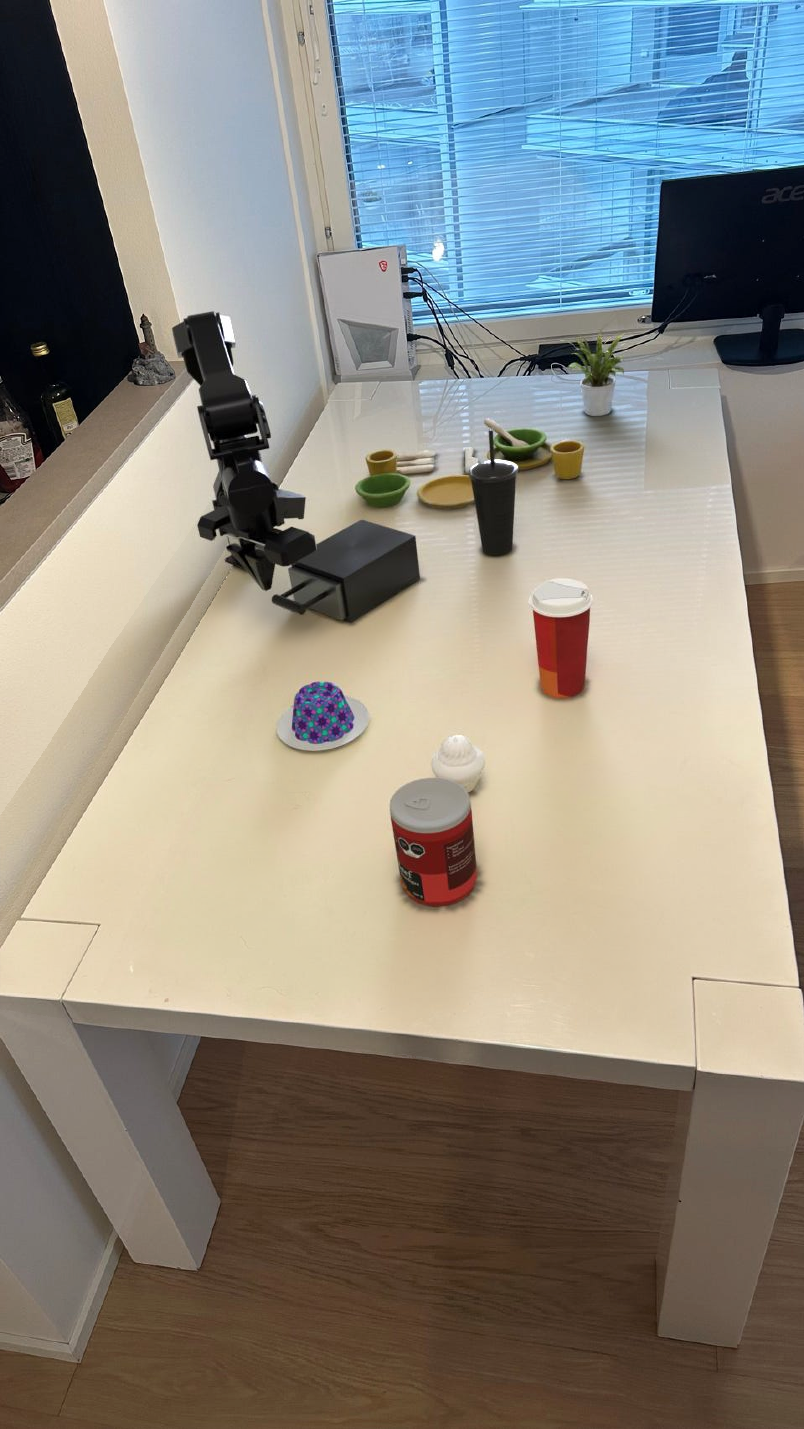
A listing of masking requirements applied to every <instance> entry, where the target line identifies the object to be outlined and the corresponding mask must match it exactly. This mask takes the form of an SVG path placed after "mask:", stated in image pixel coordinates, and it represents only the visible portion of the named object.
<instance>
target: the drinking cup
mask: <svg viewBox="0 0 804 1429" xmlns="http://www.w3.org/2000/svg"><path fill="white" fill-rule="evenodd" d="M488 445H489V450H490V460H488V459H486V460H483V461H481V462H478V464H476V465H474V466H472V467H471V468H470V469H469V471H468V474H467V475H469V477H470V478H471V483H472V489H473V495H474V501H475V503H474V507H475V513H476V519H477V524H478V531H479V537H480V541H481V549H482V552H483V554H484V555H487V556H490V557H502V556H505V555H508V554H510V553H511V552H512V551H513V544H514V525H515V524H514V523H515V506H516V488H517V475H518V474H519V470H518V467H517V465H516V464H514V463H512V462H509V461H504V460H499V459H495V457H494V446H495V445H494V431H493V429H490V428H489V429H488Z"/></svg>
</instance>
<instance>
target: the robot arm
mask: <svg viewBox="0 0 804 1429" xmlns="http://www.w3.org/2000/svg"><path fill="white" fill-rule="evenodd" d="M182 320H183V321H182V322H181V321H180V322H179V323H178V324H176V325H174V326H173V327H172V328H171V332H172V337H173V341H174V346H175V350H176V353H177V358H178V359H181V358H182V359H183V362H184V366H185V369H186V372H187V374H188V375H189V376H191V378H192V379H193V380H194V381H195V382H196V383H197V384H198V385H199V388H198V394H199V398H200V403H201V405H197V406H196V409H197V413H198V418H199V422H200V426H201V430H202V433H203V437H204V438H203V439H204V441H205V444H206V449H207V453H208V456H209V459H210V461H215V460H216V463H217V467H218V472H217V475H216V477H215V479H214V482H213V485H212V488H213V492H214V497H215V499H213V500H211V504H212V508H213V510H211V511H209V512H207V513H205V514H203V515H201V516H200V517H199V520H198V522H197V525H196V526H197V530H198V534H199V538H202V539H204V540H207V541H209V542H212V541H215V539H216V538H217V536H218V534H219V537H223V536H225V537H226V538H227V542H228V545H227V546H225V549H226V551H227V552H229V553H230V555H229V556H227V557H225V558H224V562H225V563H226V564H230V565H232V566H235V567H238V568H240V569H243V570H244V571H246V572H247V573H248V574H249V576H250V577H251V578H252V579H253V581H254V582H255V583H256V584H257V585H258V587H259V588H260V589H261V590H262V591H264V592H267V591H269V590H271V589H272V586H273V581H274V575H275V574H274V573H275V567H276V565H277V566H280V567H290V566H291V564H293V563H295V562H297V561H298V560H300V559H302V558H304V557H306V556H307V555H309V554H311V553H313V552H315V551H316V549H317V547H316V544H317V543H316V542H317V541H316V537H315V534H313V533H311V532H309V531H307V530H304V529H302V528H301V529H300V528H299V527H295V526H289V527H288V528H286V529H284V530H282V529H279V527H281V526H283V525H285V524H286V523H285V520H286V519H287V520H288V519H297V520H304V519H305V509H306V500H307V497H306V495H305V494H304V495H303V494H301V493H297V492H293V491H290V490H284V489H279V485H278V484H277V482H273V481H272V479H271V477H270V475H269V473H268V471H267V469H266V468H267V467H266V466H265V464H264V463H263V460H262V455H261V451H264V450H268V449H270V444H269V440H268V439H271V438H272V436H271V435H272V432H271V430H270V426H269V422H268V419H267V415H266V411H265V408H264V404H263V402H261V401H260V399H259V396H257V395H256V394H253V395H252V393H251V390H250V387H249V385H248V381H247V380H246V379H244V378H243V377H240V376H238V375H236V374H235V372H234V368H233V366H234V358H233V353H232V349H234V348H236V339H235V334H234V331H233V330H234V329H233V324H232V322H231V317H230V316H226V315H221V314H220V312H215V311H213V310H212V311H207V312H201V313H195V314H190V315H187V317H186V318H183V319H182ZM258 431H259V434H260V435H253V434H257V433H258ZM249 435H253V436H249ZM260 437H261V438H260ZM211 442H212V444H211ZM212 445H213V447H212ZM276 527H278V528H276ZM217 530H218V532H219V533H218V534H217Z"/></svg>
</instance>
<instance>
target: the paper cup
mask: <svg viewBox="0 0 804 1429" xmlns="http://www.w3.org/2000/svg"><path fill="white" fill-rule="evenodd" d="M527 601H528V603H527V604H528V605H529V606H530V608H531V609H532V615H533V626H534V635H535V645H536V655H537V665H538V674H539V682H540V688H541V690H542V692H543V693H544V694H545V695H547V696H549V697H551V698H553V699H554V698H555V699H569V698H570V699H571V698H573V697H576V696H578V695H579V694H581V693H582V692H583V691H584V689H585V682H586V672H587V659H588V646H589V645H588V644H589V633H590V622H591V607H592V606H593V604H594V598H593V595H592V593H591V592H590V589H589V587H588V586H587V584H585V583H584V582H583V581H580V580H577V579H573V578H565V577H563V578H562V577H561V578H560V577H559V578H553V579H548V580H546V581H543V582H541V583H539V584H538V585H537V586H536V587H535V589H533V591H532V592H531V594H530V596H529V598H528V600H527Z"/></svg>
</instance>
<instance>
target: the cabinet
mask: <svg viewBox="0 0 804 1429" xmlns="http://www.w3.org/2000/svg"><path fill="white" fill-rule="evenodd" d="M416 537H417V536H416V535H415V534H413V533H412V534H411V533H408V532H405V531H402V530H399V529H395V528H391V527H388V526H385V525H382V524H378V523H375V522H372V521H369V520H365V519H362V518H361V519H359V520H357V521H356V522H354V523H352V524H350V525H349V526H347V527H345V528H343V529H342V530H339V531H338V532H336V533H334V534H332V535H331V536H329V537H326V538H325V539H323V540H321V541H320V542H318V543H316V547H317V549H316V551H315V552H313V553H311V554H309V555H307V556H306V557H304V558H302V559H300V560H298V561H297V562H295V563H293V564H291V565H290V567H292V566H296V567H299V568H302V569H307V570H310V571H313V572H315V573H318V574H321V575H324V576H326V577H329V578H332V579H335V580H337V581H340V582H341V584H342V590H343V596H344V603H345V609H346V615H347V617H346V618H345V619H343V620H342V621H344V622H346V623H349V624H352V623H354V622H355V621H357V620H358V619H361V618H362V617H363V616H365V615H366V614H368V613H371V611H373V610H375V609H376V608H378V607H379V606H381V605H383V604H384V603H385V602H387V601H388V600H390V599H391V598H393V597H395V596H396V595H398V594H400V593H401V592H403V591H404V590H406V589H407V588H409V587H410V586H412V585H414V584H415V583H417V582H419V581H420V580H421V574H420V573H421V572H420V564H419V557H418V556H419V555H418V547H417V538H416Z"/></svg>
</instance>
